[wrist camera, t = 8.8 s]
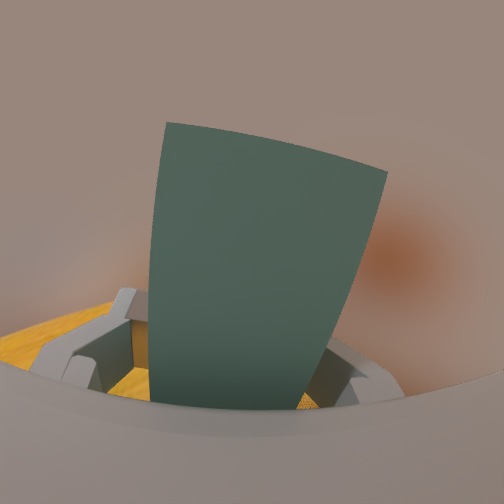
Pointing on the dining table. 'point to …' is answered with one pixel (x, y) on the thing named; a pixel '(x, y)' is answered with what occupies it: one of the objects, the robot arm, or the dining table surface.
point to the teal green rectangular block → (250, 265)
